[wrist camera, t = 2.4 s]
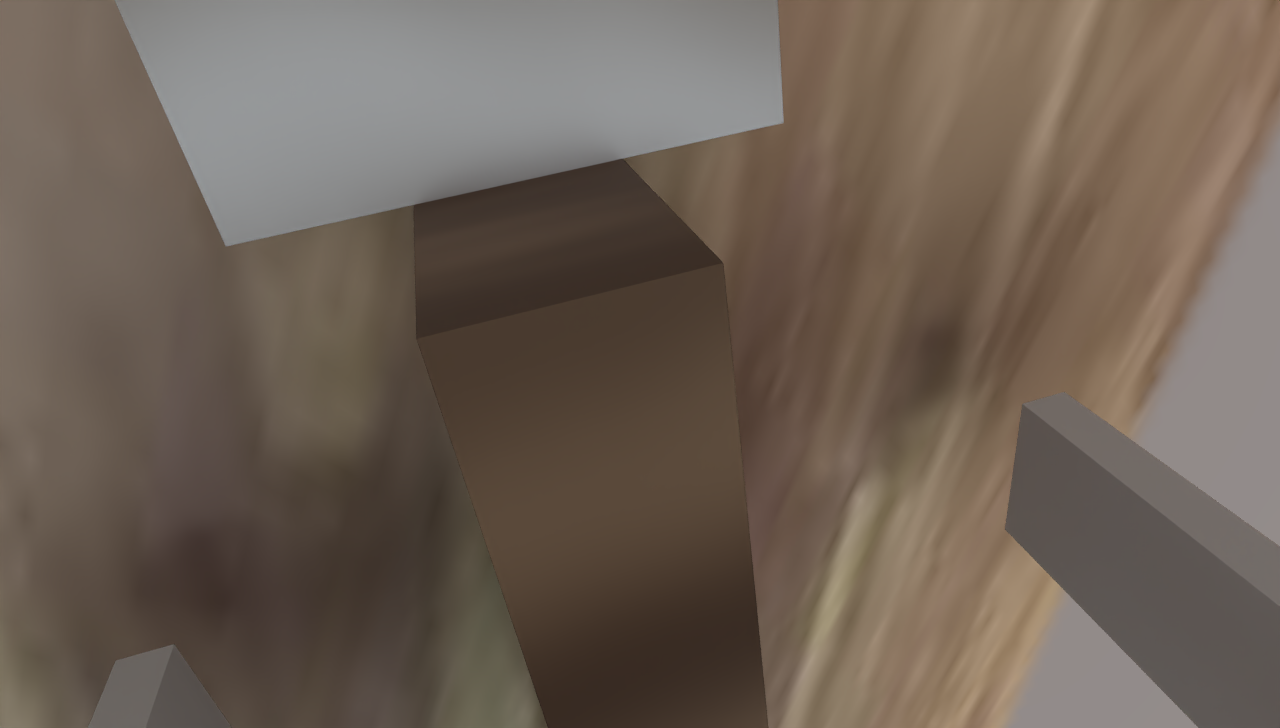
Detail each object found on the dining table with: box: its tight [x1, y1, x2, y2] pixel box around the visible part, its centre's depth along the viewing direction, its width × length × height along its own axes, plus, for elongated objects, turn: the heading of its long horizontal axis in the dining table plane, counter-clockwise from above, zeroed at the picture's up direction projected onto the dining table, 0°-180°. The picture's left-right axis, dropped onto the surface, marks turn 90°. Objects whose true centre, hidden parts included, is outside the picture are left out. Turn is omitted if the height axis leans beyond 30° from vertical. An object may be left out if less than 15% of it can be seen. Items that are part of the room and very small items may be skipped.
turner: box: [115, 0, 784, 728], centre depth 11 cm, size 19×8×5 cm, turn 9°
